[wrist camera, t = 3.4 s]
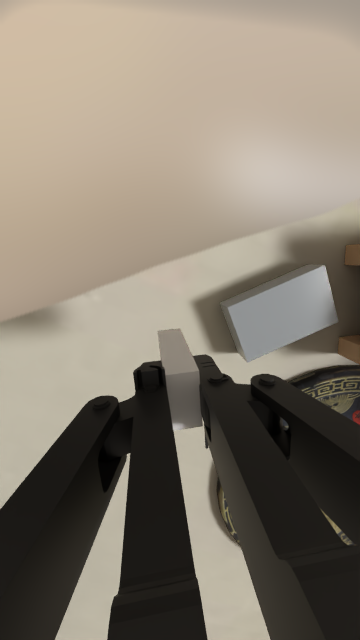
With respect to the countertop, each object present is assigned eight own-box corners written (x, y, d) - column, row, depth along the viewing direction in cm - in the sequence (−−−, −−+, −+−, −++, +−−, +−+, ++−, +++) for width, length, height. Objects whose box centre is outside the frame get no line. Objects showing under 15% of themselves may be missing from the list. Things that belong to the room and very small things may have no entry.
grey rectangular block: (236, 351, 28) (247, 362, 25) (218, 302, 26) (227, 307, 24) (318, 315, 28) (338, 321, 25) (305, 264, 27) (325, 264, 24)
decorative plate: (353, 316, 27) (481, 455, 34) (340, 312, 29) (464, 446, 36) (167, 509, 30) (323, 599, 37) (166, 494, 32) (314, 583, 39)
